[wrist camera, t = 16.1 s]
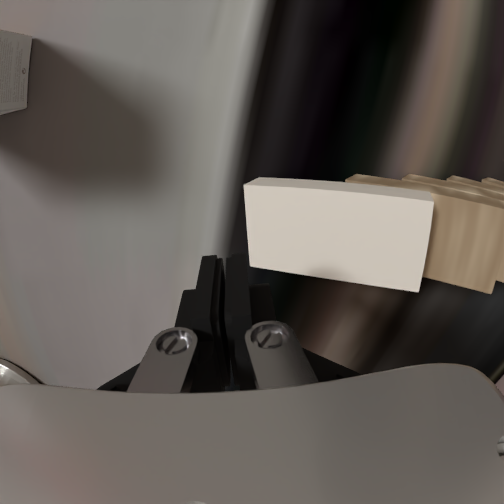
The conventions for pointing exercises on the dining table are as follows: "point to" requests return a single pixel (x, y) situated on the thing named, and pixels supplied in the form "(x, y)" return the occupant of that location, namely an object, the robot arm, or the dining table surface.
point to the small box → (14, 70)
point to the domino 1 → (339, 230)
